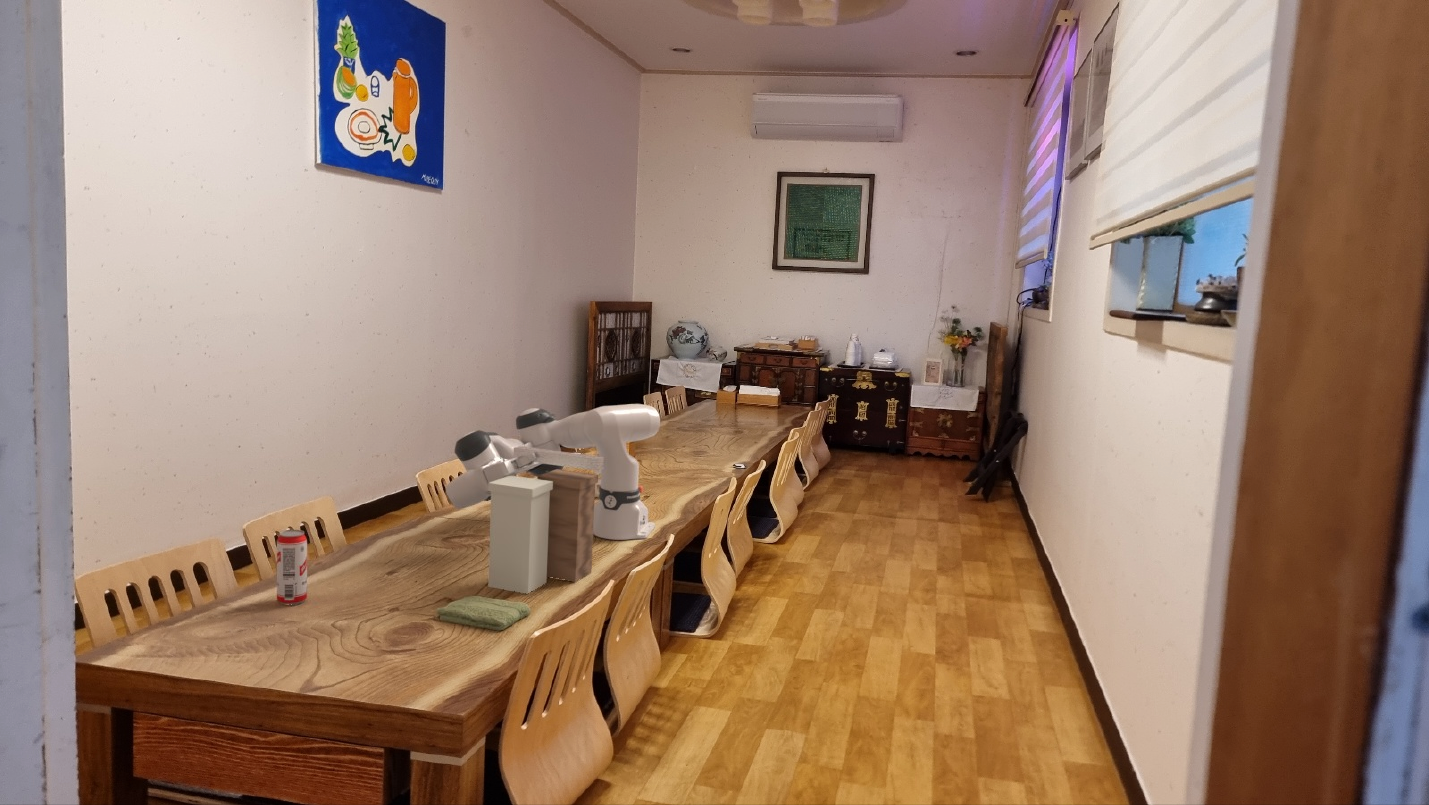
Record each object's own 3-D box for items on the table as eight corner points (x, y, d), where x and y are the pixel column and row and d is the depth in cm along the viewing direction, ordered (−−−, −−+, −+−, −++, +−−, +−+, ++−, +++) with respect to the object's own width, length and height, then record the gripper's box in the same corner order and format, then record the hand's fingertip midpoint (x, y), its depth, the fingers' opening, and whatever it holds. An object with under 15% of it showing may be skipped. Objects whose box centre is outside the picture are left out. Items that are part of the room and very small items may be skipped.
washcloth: (466, 603, 223) (467, 589, 223) (533, 616, 217) (533, 602, 217) (432, 621, 211) (432, 607, 210) (501, 635, 205) (502, 621, 205)
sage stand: (507, 575, 243) (510, 475, 239) (549, 583, 239) (552, 481, 235) (485, 587, 233) (488, 482, 230) (528, 595, 229) (532, 489, 226)
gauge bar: (519, 457, 248) (519, 446, 248) (603, 468, 241) (603, 457, 240) (513, 459, 246) (513, 447, 245) (597, 470, 238) (598, 459, 238)
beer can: (274, 607, 212) (274, 537, 210) (279, 597, 218) (279, 529, 216) (304, 605, 214) (305, 536, 212) (308, 596, 220) (309, 528, 218)
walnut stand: (552, 565, 253) (556, 469, 249) (593, 572, 249) (598, 474, 246) (533, 575, 244) (537, 476, 240) (576, 583, 240) (580, 482, 236)
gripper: (523, 478, 259) (564, 458, 254) (481, 493, 240) (524, 472, 235) (514, 457, 259) (554, 437, 255) (471, 470, 240) (514, 449, 235)
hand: (539, 454), depth 245 cm, fingers closed on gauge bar, 3 cm apart
